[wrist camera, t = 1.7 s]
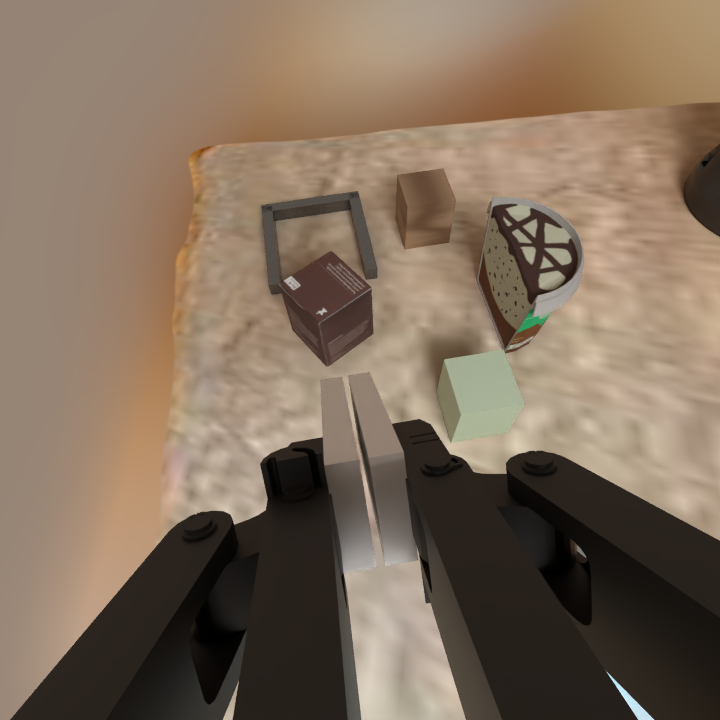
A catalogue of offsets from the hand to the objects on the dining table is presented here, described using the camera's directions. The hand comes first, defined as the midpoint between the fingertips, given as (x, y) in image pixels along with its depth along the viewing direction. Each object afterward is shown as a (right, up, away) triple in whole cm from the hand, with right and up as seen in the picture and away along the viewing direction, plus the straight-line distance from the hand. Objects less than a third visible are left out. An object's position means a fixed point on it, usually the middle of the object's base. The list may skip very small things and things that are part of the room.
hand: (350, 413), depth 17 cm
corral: (-4, +15, +37) cm, 40 cm away
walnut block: (+7, +17, +38) cm, 42 cm away
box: (-2, +4, +31) cm, 32 cm away
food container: (+16, +7, +32) cm, 36 cm away
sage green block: (+10, -3, +26) cm, 28 cm away
